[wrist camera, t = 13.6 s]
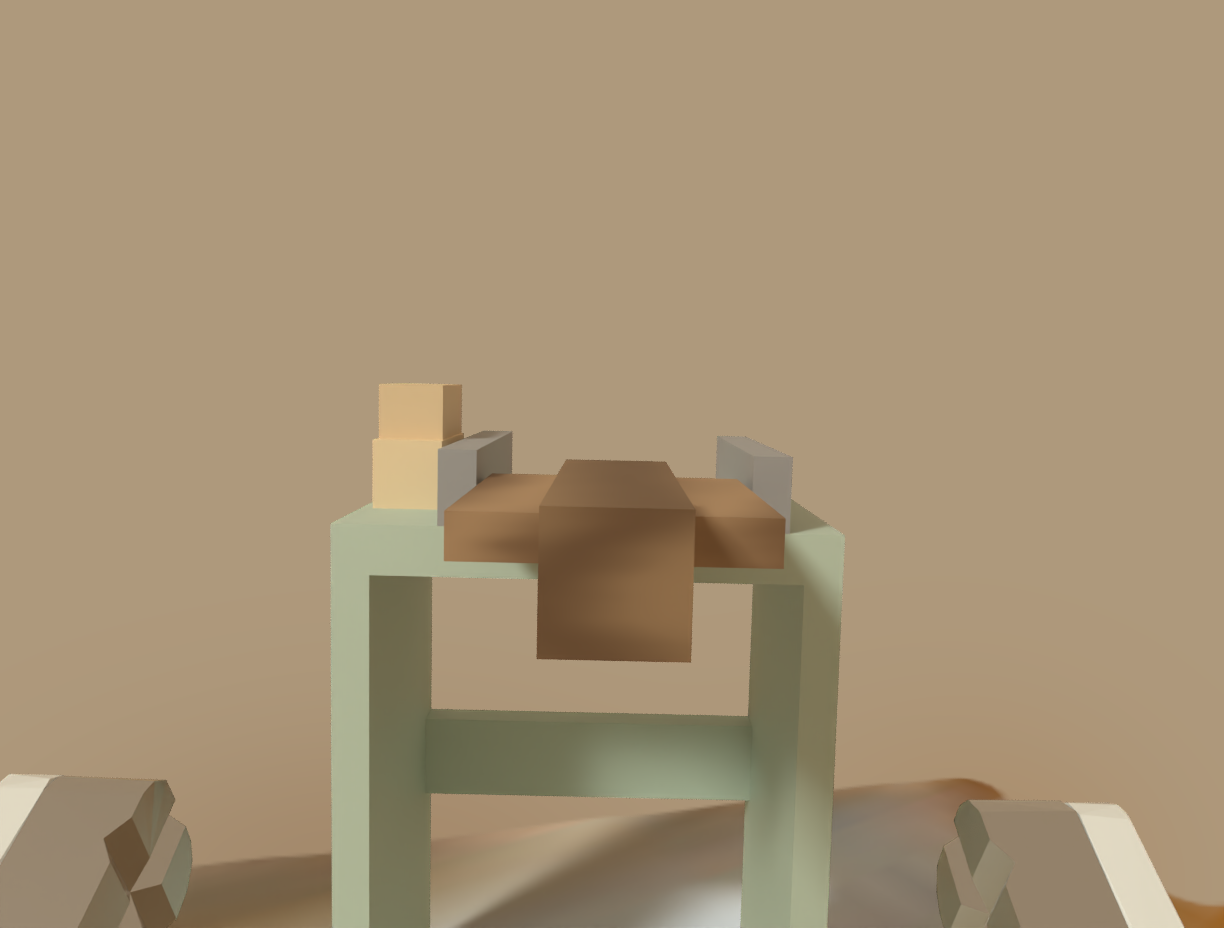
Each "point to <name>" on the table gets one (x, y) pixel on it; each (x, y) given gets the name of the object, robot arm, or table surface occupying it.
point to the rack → (563, 741)
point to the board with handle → (614, 550)
